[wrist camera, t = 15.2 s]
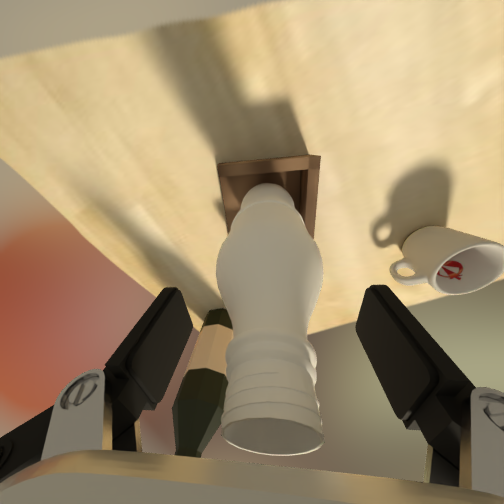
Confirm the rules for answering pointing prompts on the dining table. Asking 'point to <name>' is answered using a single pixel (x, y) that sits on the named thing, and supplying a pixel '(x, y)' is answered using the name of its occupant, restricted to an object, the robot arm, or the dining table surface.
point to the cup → (449, 260)
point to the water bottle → (270, 326)
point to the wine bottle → (203, 387)
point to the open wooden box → (276, 172)
